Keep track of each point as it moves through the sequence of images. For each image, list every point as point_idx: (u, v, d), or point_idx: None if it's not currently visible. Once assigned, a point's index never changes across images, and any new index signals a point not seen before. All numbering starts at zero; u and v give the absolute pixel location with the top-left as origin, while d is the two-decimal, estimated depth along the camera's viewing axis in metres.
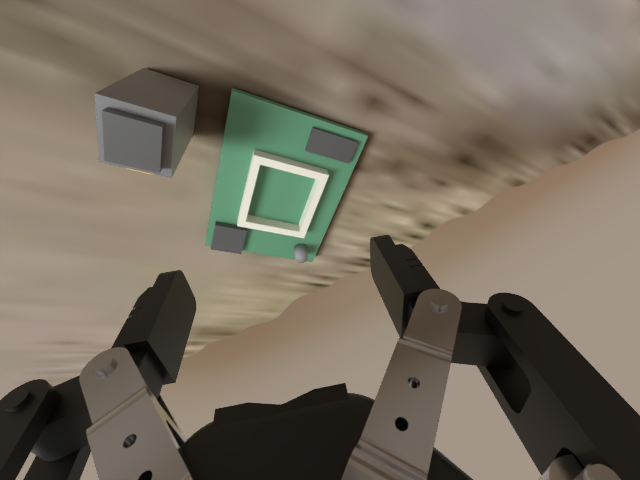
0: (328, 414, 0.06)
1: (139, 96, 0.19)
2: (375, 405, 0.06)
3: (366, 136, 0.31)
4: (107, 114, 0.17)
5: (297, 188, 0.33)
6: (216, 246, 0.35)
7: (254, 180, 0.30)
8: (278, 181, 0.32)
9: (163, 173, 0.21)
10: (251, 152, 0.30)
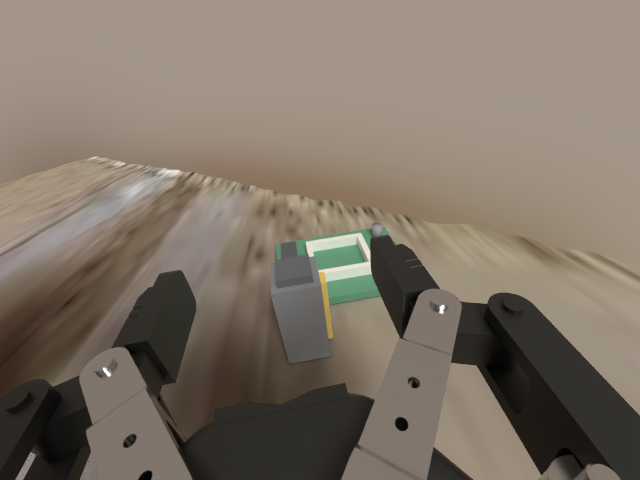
0: (328, 414, 0.06)
1: None
2: (375, 405, 0.06)
3: (276, 244, 0.47)
4: (277, 279, 0.25)
5: (328, 255, 0.43)
6: None
7: (330, 268, 0.38)
8: (329, 265, 0.41)
9: (313, 259, 0.28)
10: None
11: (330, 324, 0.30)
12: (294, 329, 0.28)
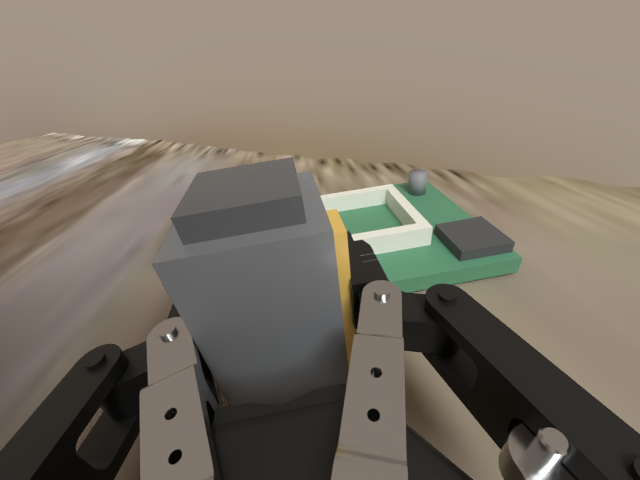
0: (328, 414, 0.06)
1: None
2: (375, 405, 0.06)
3: None
4: (180, 213, 0.07)
5: None
6: (500, 239, 0.19)
7: None
8: None
9: (307, 177, 0.10)
10: None
11: None
12: (256, 371, 0.10)
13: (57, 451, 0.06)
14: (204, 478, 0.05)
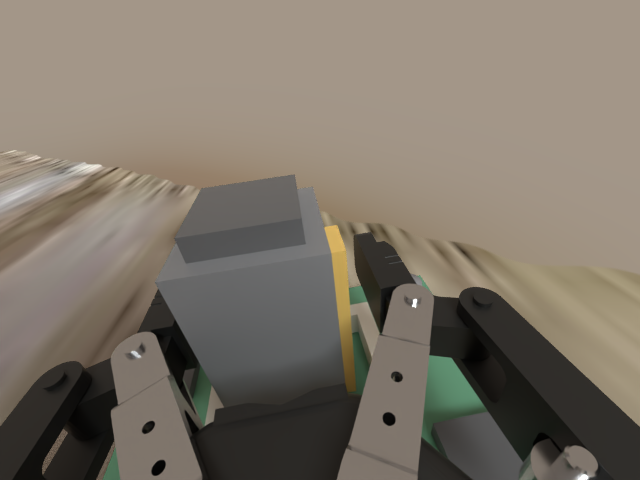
0: (328, 414, 0.06)
1: None
2: (375, 405, 0.06)
3: None
4: (184, 233, 0.08)
5: None
6: None
7: None
8: None
9: (308, 193, 0.11)
10: None
11: (351, 362, 0.12)
12: (255, 383, 0.10)
13: (22, 475, 0.06)
14: None
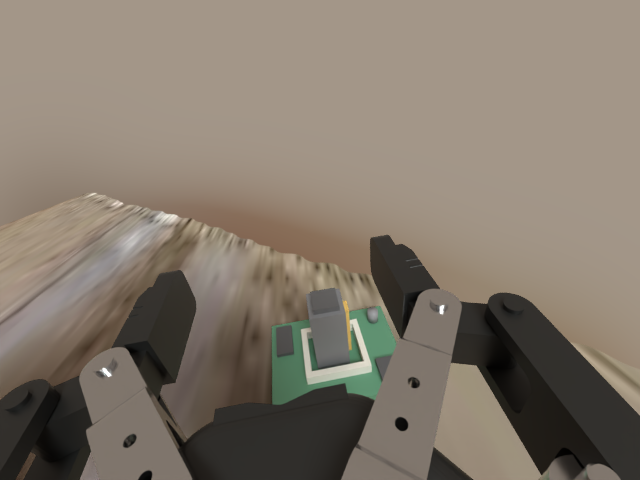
0: (328, 414, 0.06)
1: None
2: (375, 405, 0.06)
3: (272, 327, 0.47)
4: (313, 308, 0.35)
5: None
6: None
7: (325, 369, 0.38)
8: None
9: (338, 291, 0.38)
10: (310, 385, 0.38)
11: (350, 339, 0.40)
12: (324, 343, 0.37)
13: None
14: None
